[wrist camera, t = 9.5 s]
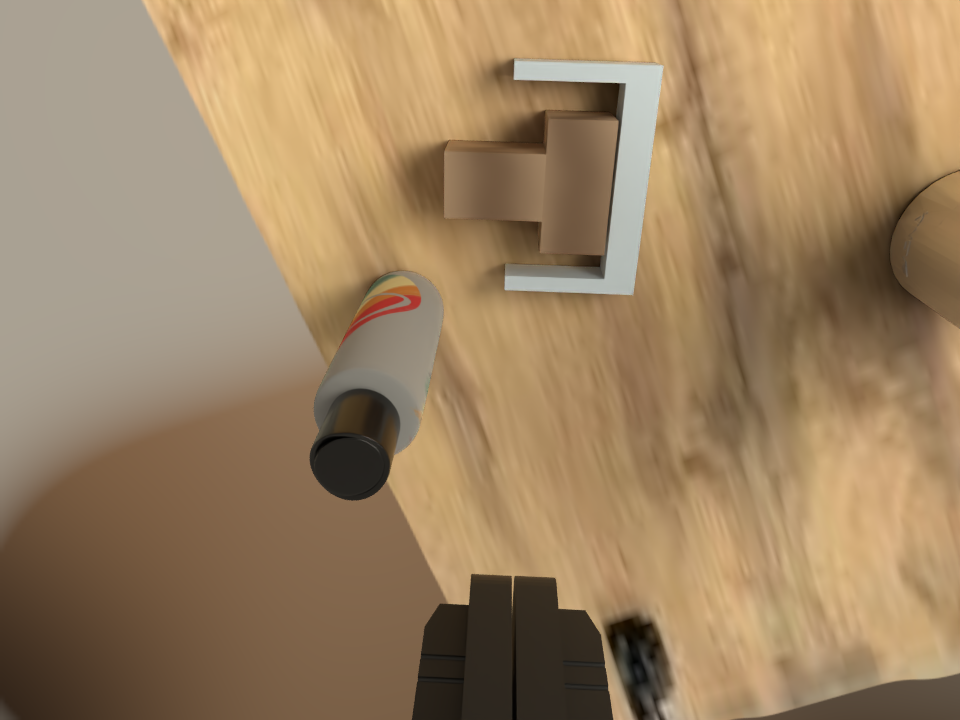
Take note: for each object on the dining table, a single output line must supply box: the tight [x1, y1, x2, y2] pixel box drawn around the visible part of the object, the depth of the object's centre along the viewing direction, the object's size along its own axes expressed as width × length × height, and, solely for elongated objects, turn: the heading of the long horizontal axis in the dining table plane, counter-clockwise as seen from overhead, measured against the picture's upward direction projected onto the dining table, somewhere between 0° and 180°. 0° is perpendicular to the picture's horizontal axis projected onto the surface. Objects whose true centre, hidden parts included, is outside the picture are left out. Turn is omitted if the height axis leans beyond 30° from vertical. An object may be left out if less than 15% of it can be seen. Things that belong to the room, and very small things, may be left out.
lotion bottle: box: [310, 271, 444, 500], centre depth 41 cm, size 6×6×20 cm
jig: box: [504, 58, 663, 295], centre depth 44 cm, size 8×14×2 cm, turn 178°
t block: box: [444, 110, 619, 255], centre depth 44 cm, size 10×8×4 cm
